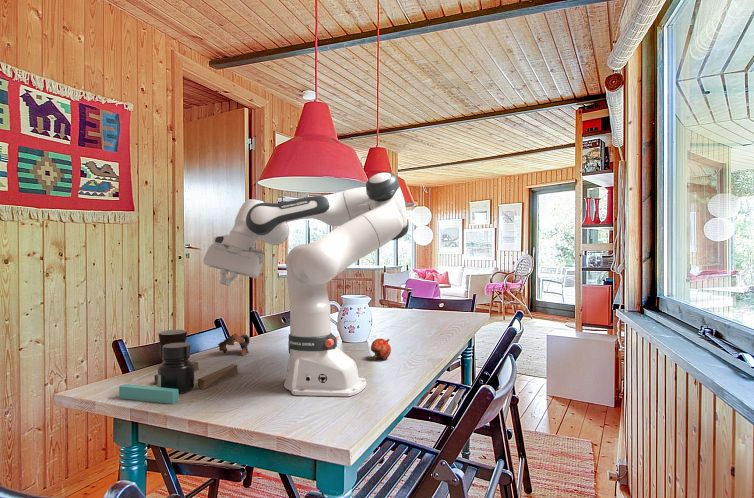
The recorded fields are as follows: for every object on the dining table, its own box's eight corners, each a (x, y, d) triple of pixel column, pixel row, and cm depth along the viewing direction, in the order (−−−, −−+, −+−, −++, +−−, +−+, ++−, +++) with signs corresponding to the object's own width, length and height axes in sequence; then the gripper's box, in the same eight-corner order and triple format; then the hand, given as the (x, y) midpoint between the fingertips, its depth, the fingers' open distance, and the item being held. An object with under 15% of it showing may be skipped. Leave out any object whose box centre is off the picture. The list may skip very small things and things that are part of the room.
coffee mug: (176, 366, 144) (176, 335, 144) (152, 364, 146) (152, 334, 146) (197, 357, 155) (197, 328, 155) (175, 356, 157) (175, 327, 157)
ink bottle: (172, 383, 126) (172, 340, 126) (201, 385, 124) (201, 342, 124) (149, 395, 116) (149, 348, 116) (180, 397, 115) (180, 349, 115)
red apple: (380, 369, 149) (401, 348, 152) (366, 352, 148) (388, 332, 151) (372, 366, 156) (392, 346, 159) (359, 350, 155) (379, 330, 158)
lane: (237, 373, 136) (237, 364, 136) (204, 389, 121) (204, 379, 121) (192, 369, 141) (192, 361, 141) (154, 384, 125) (154, 375, 125)
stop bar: (178, 401, 111) (178, 389, 111) (172, 404, 109) (172, 391, 109) (125, 395, 116) (125, 383, 116) (119, 398, 114) (119, 386, 114)
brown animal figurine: (239, 359, 155) (227, 339, 154) (222, 368, 159) (210, 348, 159) (260, 344, 165) (248, 324, 165) (243, 352, 170) (232, 334, 169)
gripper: (271, 254, 149) (256, 294, 145) (220, 242, 155) (205, 280, 152) (261, 247, 143) (246, 289, 139) (209, 236, 149) (193, 275, 146)
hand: (224, 284), depth 145 cm, fingers closed
